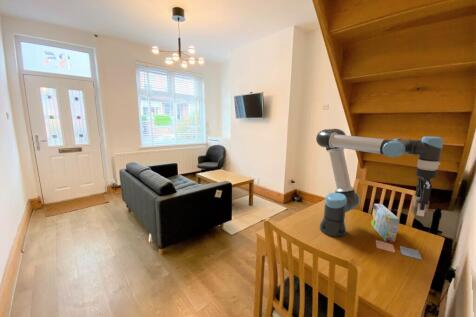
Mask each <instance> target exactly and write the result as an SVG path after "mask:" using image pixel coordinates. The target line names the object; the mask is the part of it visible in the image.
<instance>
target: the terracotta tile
mask: <svg viewBox="0 0 476 317" xmlns="http://www.w3.org/2000/svg"><path fill="white" fill-rule="evenodd" d="M375 244H376V249H378V250H379V249H380V250H381V251H382V250H384V251H386V252H389V253H396V251H395V248H394V243H391V242H385V241H381V240H377V239H375Z"/></svg>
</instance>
